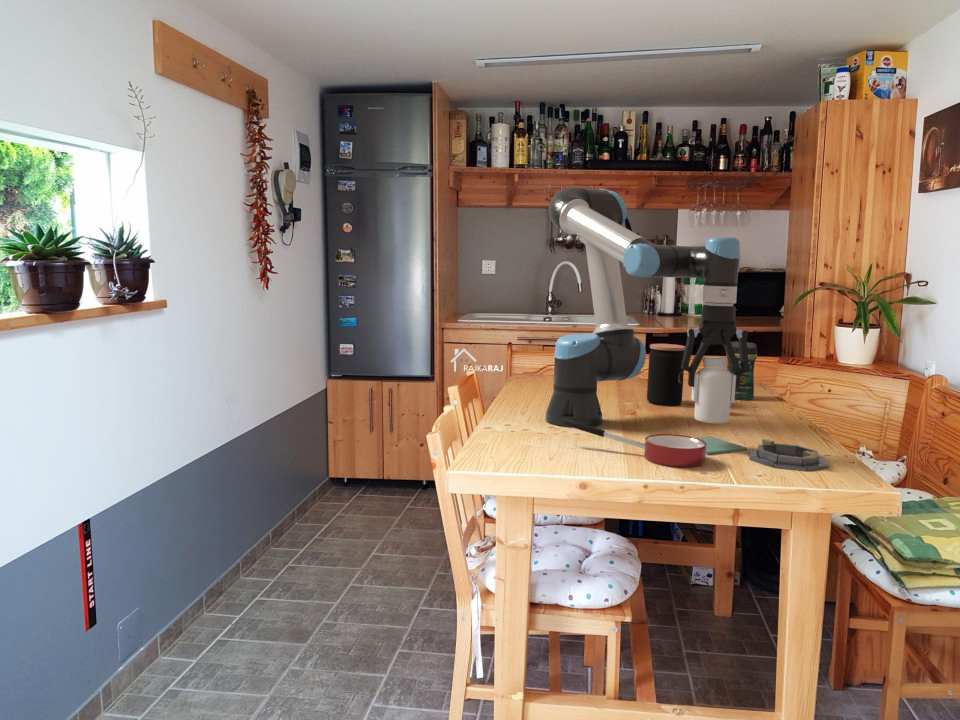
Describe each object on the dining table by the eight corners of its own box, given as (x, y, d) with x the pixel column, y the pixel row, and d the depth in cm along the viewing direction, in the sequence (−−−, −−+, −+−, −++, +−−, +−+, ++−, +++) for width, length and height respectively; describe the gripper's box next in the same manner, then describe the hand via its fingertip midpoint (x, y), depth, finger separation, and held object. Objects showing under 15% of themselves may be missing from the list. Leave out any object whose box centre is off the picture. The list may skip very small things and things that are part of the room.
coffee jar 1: (683, 407, 222) (687, 348, 220) (647, 405, 224) (651, 346, 222) (679, 401, 233) (683, 344, 230) (645, 399, 234) (648, 343, 232)
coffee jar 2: (723, 399, 238) (728, 342, 235) (721, 395, 246) (725, 339, 243) (755, 401, 236) (759, 343, 233) (752, 397, 243) (756, 341, 241)
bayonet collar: (791, 473, 154) (792, 458, 153) (733, 454, 168) (734, 440, 168) (842, 465, 161) (844, 451, 161) (783, 448, 175) (785, 435, 175)
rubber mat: (707, 454, 167) (707, 452, 167) (672, 442, 178) (672, 440, 178) (746, 450, 173) (746, 447, 172) (709, 438, 183) (710, 436, 183)
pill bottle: (686, 418, 176) (690, 356, 174) (713, 416, 179) (717, 355, 177) (708, 424, 169) (713, 360, 167) (736, 422, 172) (741, 359, 170)
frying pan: (554, 454, 164) (555, 426, 164) (567, 441, 177) (568, 415, 176) (703, 471, 154) (705, 441, 153) (706, 456, 166) (708, 429, 165)
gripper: (677, 304, 168) (671, 402, 171) (769, 306, 166) (762, 405, 169) (670, 302, 175) (665, 396, 178) (759, 305, 174) (752, 399, 177)
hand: (712, 400), depth 174 cm, fingers closed on pill bottle, 8 cm apart
